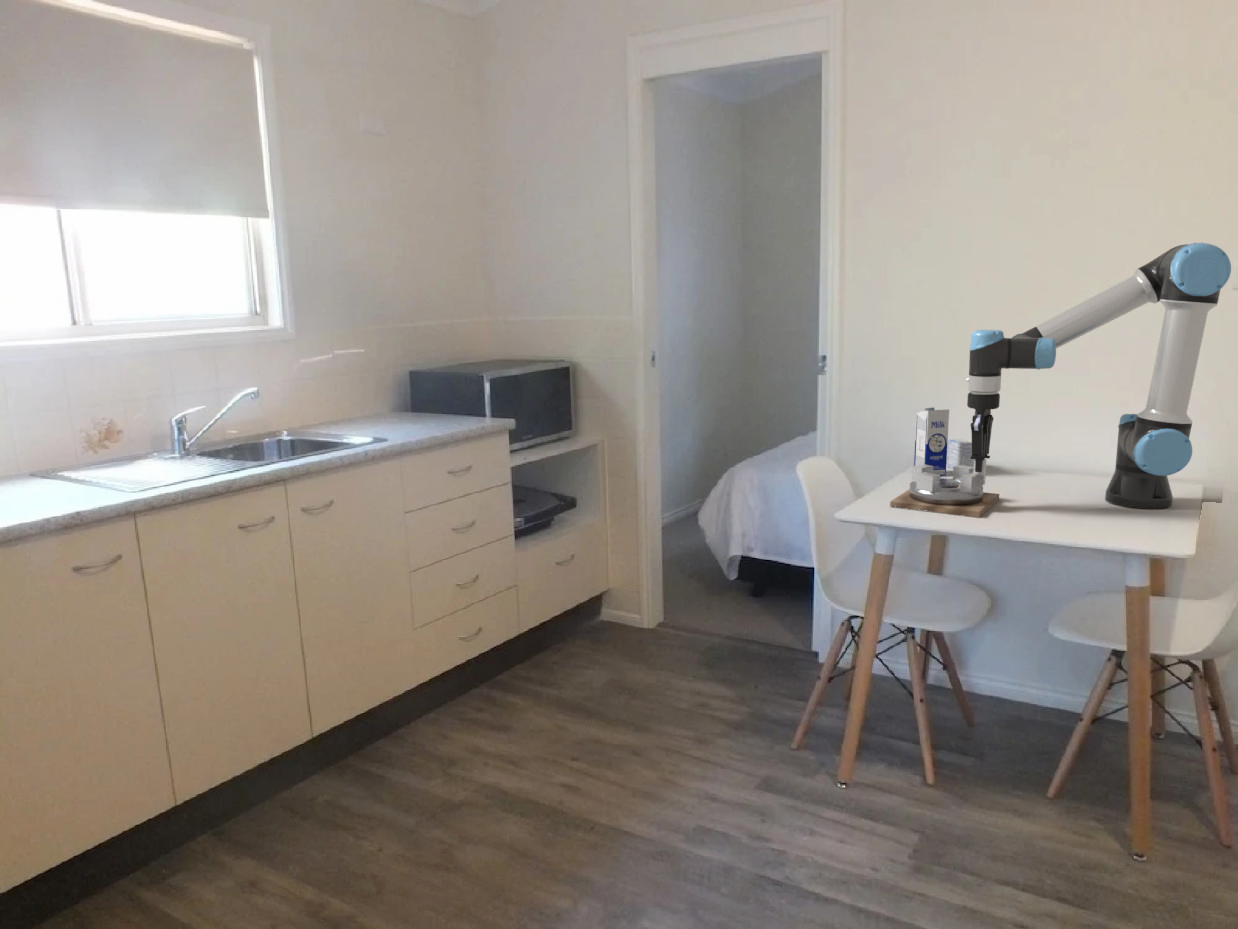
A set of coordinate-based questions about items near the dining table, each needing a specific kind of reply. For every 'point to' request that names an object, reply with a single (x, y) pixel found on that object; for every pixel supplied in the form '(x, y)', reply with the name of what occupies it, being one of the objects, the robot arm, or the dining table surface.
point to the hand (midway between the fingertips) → (978, 483)
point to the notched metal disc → (946, 486)
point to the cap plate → (966, 510)
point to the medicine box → (959, 453)
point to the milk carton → (932, 439)
